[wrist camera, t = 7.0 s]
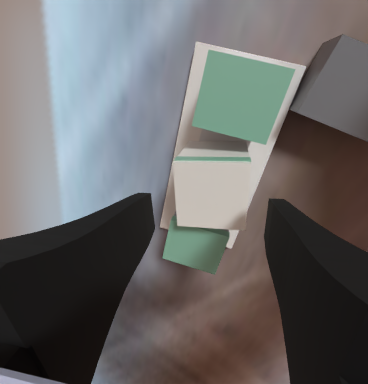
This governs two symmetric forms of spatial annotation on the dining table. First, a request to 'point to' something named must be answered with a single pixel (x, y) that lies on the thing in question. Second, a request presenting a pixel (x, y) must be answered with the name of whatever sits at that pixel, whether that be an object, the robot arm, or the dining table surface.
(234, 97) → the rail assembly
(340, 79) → the relay
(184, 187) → the block
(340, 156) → the dining table surface
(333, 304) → the robot arm
